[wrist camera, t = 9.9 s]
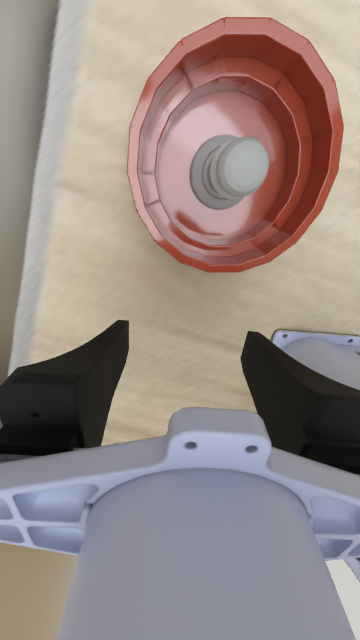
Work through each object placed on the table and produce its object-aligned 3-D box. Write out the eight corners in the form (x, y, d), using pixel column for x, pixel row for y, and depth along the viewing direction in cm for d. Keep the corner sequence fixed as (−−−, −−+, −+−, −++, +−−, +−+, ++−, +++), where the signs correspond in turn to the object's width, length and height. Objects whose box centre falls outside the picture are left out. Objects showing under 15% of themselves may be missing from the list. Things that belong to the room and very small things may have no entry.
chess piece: (258, 195, 19) (307, 200, 12) (200, 218, 19) (212, 236, 12) (245, 122, 16) (293, 75, 9) (180, 152, 17) (181, 127, 10)
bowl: (308, 41, 15) (362, -19, 11) (296, 243, 21) (328, 257, 17) (119, 86, 16) (97, 48, 12) (159, 266, 22) (154, 286, 17)
